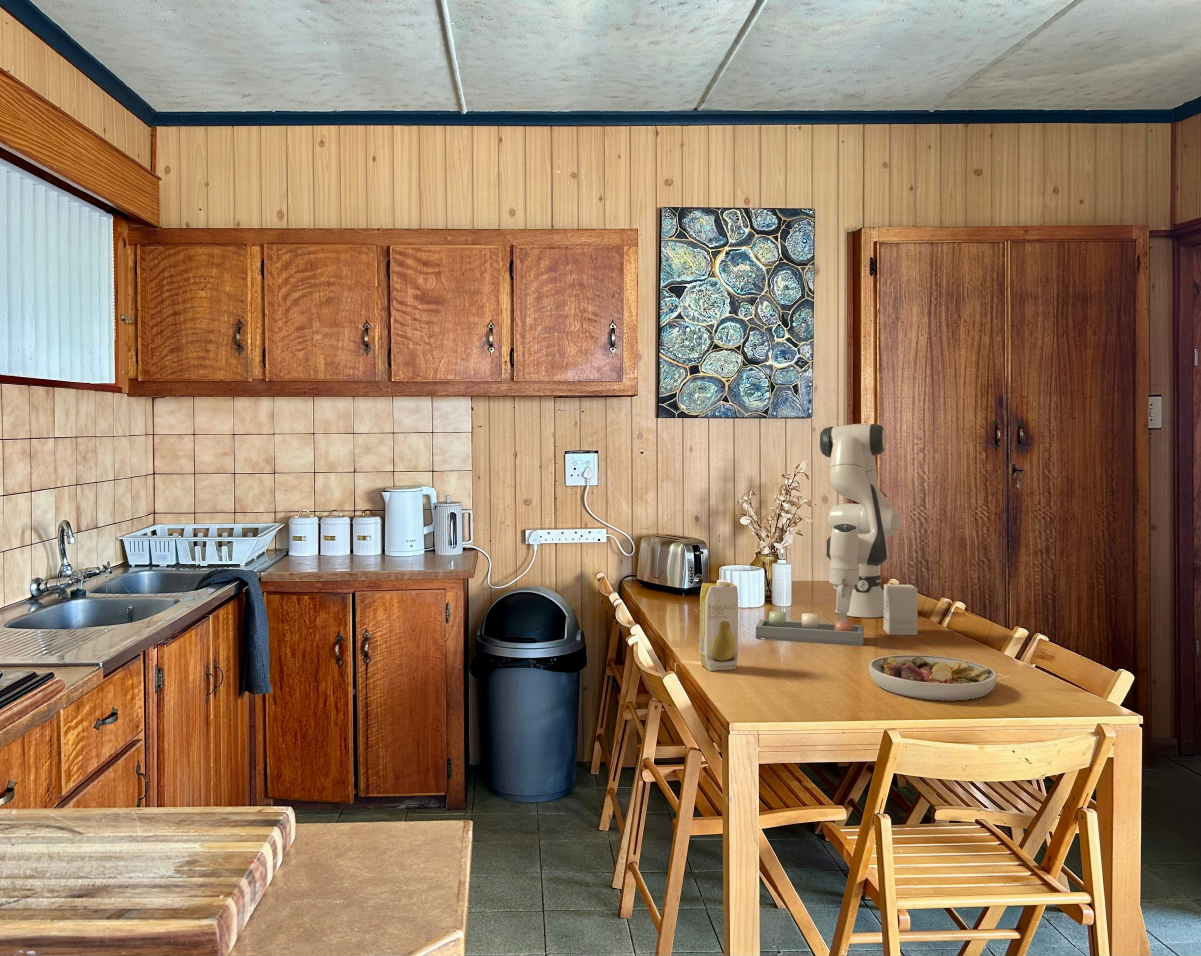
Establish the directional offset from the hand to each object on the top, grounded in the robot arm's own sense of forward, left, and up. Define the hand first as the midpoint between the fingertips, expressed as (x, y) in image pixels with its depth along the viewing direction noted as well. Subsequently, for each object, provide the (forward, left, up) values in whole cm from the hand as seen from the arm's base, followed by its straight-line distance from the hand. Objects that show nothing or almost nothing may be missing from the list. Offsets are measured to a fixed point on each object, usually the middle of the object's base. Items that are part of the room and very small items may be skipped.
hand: (843, 622), depth 288 cm
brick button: (0, 0, -4) cm, 4 cm away
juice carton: (+46, -31, -6) cm, 56 cm away
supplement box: (-18, +17, -6) cm, 26 cm away
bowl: (+49, +23, -6) cm, 54 cm away
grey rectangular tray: (0, -10, -6) cm, 11 cm away
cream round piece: (0, -10, -2) cm, 10 cm away
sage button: (0, -20, -2) cm, 20 cm away
